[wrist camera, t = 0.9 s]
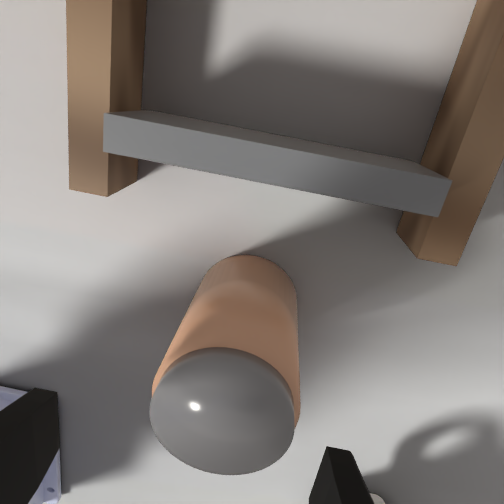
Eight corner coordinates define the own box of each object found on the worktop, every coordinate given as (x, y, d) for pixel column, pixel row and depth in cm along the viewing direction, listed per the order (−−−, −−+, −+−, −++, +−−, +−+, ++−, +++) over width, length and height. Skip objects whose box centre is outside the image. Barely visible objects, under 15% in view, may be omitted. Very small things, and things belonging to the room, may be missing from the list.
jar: (285, 349, 20) (282, 492, 13) (193, 331, 20) (138, 461, 13) (307, 266, 18) (318, 377, 11) (205, 245, 18) (148, 342, 11)
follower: (402, 189, 16) (438, 217, 12) (146, 139, 16) (102, 151, 12) (412, 161, 15) (452, 180, 11) (148, 109, 15) (103, 112, 12)
